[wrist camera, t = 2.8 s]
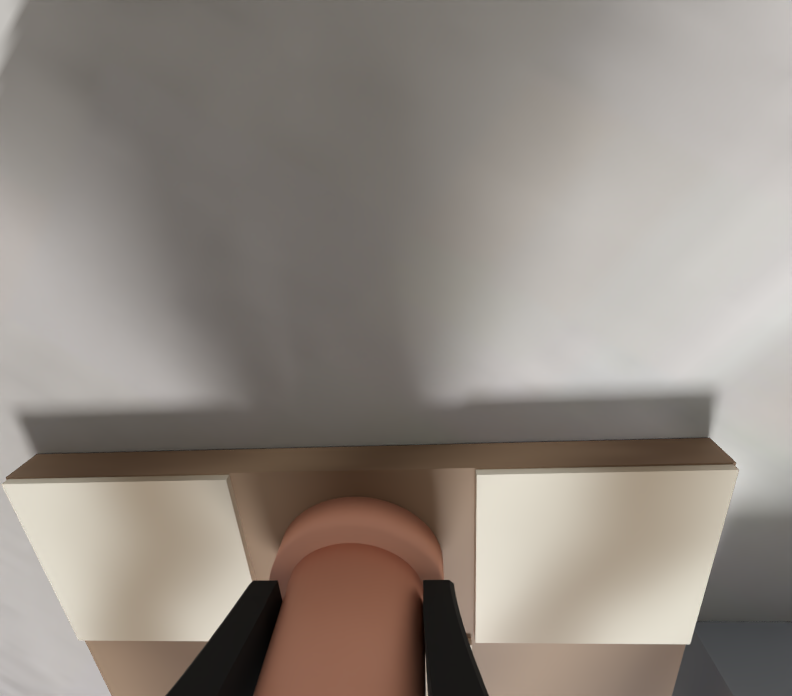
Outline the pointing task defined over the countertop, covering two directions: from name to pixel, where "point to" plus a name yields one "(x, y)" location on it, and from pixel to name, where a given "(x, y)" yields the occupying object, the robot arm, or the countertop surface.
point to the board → (432, 503)
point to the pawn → (351, 602)
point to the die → (737, 660)
